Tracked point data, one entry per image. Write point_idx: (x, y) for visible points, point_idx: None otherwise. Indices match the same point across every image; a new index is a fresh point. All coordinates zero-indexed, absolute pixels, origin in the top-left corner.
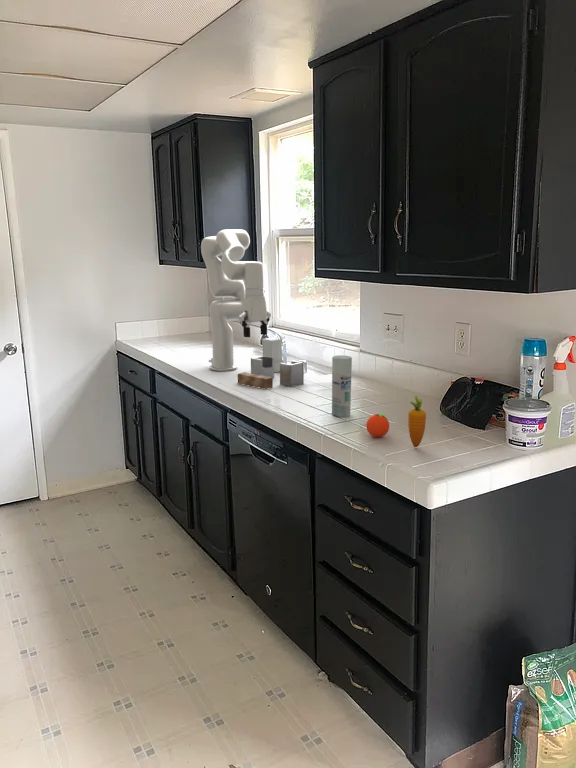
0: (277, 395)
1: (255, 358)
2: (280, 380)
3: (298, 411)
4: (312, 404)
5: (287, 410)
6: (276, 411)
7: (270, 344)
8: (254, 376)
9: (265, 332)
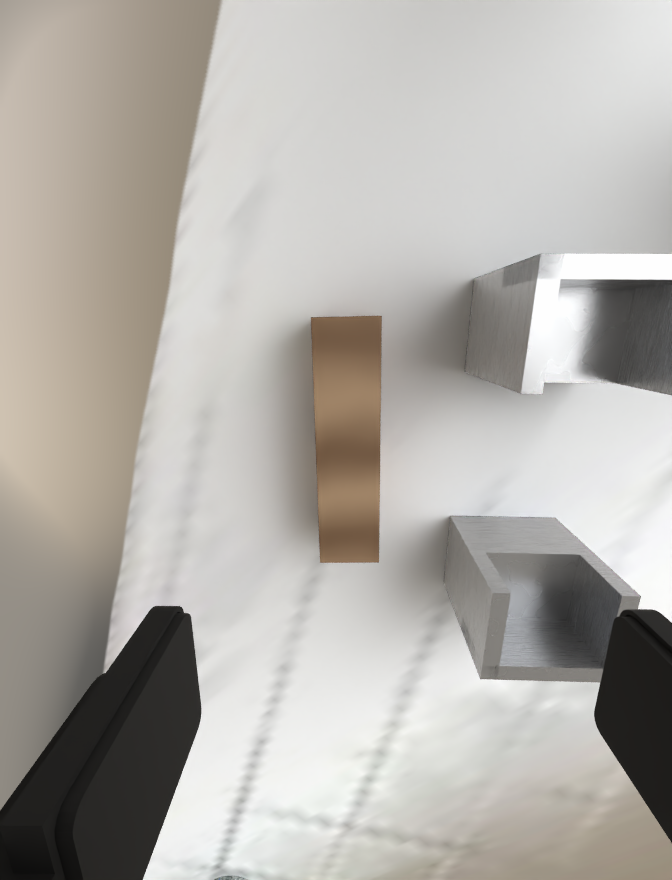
0: (273, 638)
1: (555, 301)
2: (456, 532)
3: None
4: (265, 791)
5: None
6: None
7: None
8: (326, 468)
9: (622, 758)
